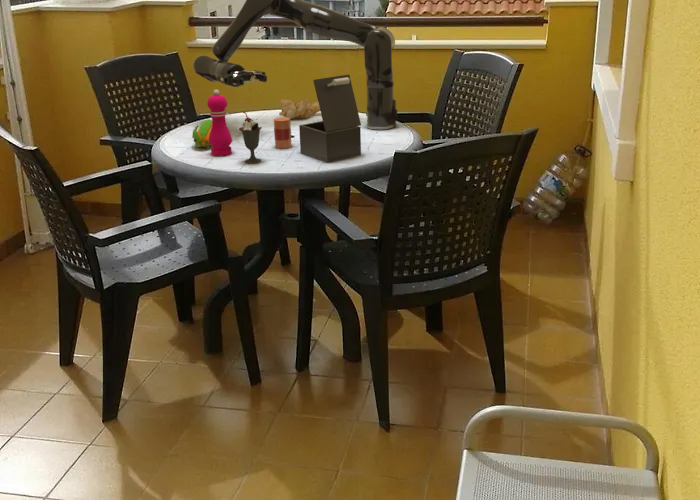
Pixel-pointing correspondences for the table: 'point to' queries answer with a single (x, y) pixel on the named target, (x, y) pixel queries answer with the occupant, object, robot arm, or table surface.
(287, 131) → the tin can
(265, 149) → the table surface
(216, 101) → the pepper mill
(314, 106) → the ginger root
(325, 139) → the open brown box
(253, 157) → the sundae
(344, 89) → the dark brown box lid
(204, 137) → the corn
